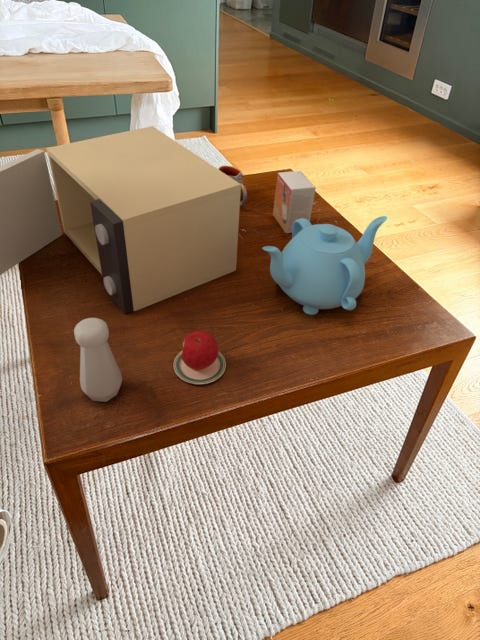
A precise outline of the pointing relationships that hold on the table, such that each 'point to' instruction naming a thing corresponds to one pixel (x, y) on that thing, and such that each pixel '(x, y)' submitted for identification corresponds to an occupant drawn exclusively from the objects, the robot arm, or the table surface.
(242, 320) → the table surface
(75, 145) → the microwave
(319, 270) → the teapot
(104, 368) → the salt shaker
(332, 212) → the table surface
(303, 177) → the small box
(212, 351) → the apple
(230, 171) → the mug
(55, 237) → the microwave door
